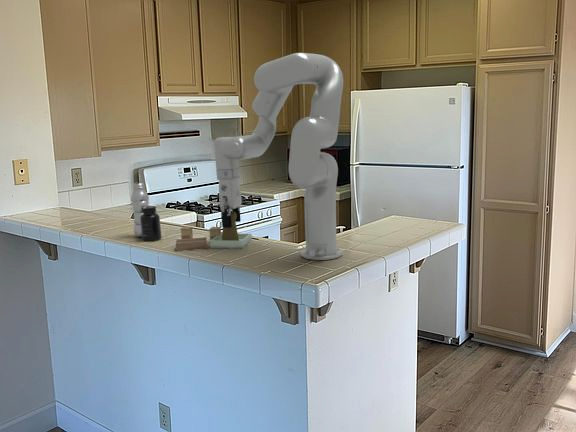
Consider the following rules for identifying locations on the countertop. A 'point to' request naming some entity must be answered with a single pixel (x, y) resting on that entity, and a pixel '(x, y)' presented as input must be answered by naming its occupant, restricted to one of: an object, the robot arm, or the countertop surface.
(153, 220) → the supplement bottle
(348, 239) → the countertop surface
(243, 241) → the tray
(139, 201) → the plastic bottle
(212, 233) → the bench dogs
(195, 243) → the wooden block
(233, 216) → the cork
